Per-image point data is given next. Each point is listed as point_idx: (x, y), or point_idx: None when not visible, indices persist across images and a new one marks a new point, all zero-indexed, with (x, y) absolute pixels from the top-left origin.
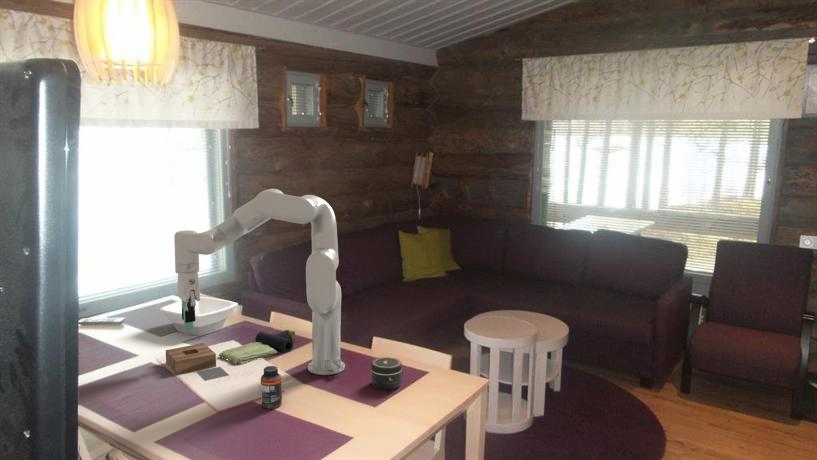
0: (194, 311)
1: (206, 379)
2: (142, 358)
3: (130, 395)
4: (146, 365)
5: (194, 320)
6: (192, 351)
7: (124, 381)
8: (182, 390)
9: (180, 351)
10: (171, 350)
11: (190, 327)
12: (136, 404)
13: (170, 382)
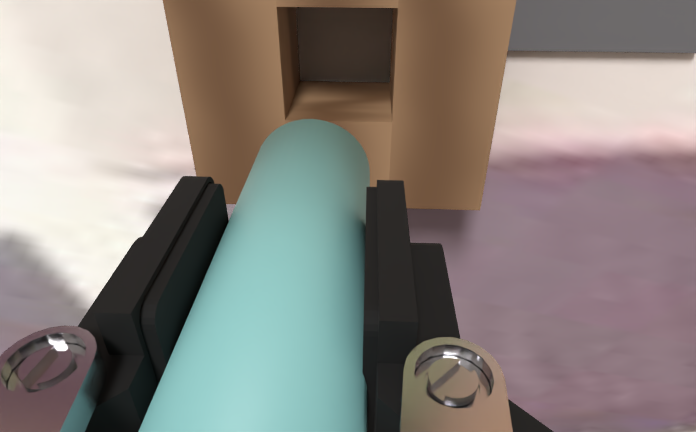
0: (414, 306)
1: (690, 36)
2: (77, 228)
3: (544, 356)
4: None
5: (401, 194)
6: (282, 28)
7: None
8: (691, 192)
9: None
10: (230, 175)
11: (369, 185)
12: (654, 359)
13: (531, 208)
